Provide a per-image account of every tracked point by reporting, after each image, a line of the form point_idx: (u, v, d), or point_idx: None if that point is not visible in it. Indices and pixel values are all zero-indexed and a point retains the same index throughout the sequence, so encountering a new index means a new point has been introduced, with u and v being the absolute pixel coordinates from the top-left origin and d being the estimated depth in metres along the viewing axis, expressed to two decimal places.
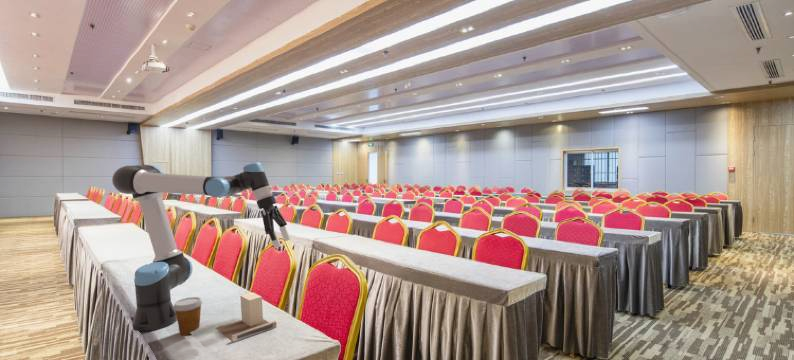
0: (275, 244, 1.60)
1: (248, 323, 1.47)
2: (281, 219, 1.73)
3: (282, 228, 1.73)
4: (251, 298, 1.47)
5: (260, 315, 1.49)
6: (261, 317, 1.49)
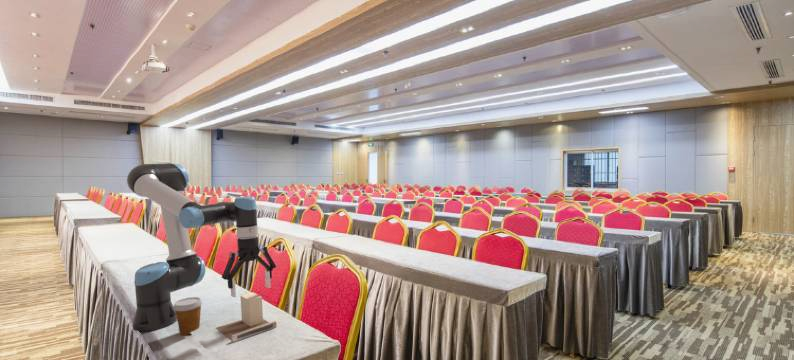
0: (231, 292, 1.45)
1: (248, 323, 1.47)
2: (266, 263, 1.53)
3: (266, 272, 1.54)
4: (251, 298, 1.47)
5: (260, 315, 1.49)
6: (261, 317, 1.49)
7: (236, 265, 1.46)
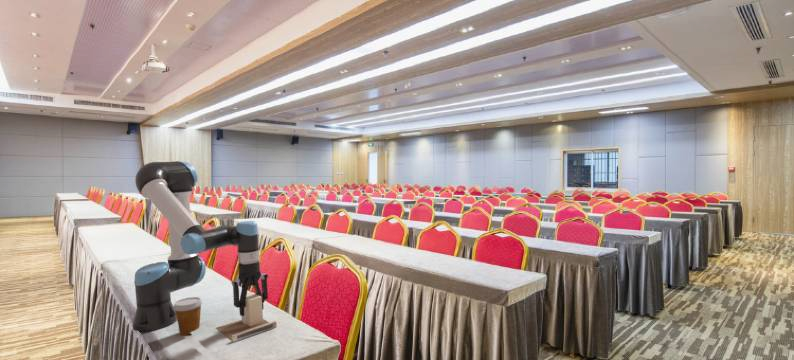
0: (243, 319, 1.49)
1: (248, 323, 1.47)
2: (260, 293, 1.52)
3: None
4: (251, 299, 1.47)
5: (260, 315, 1.49)
6: (261, 317, 1.49)
7: (242, 292, 1.48)
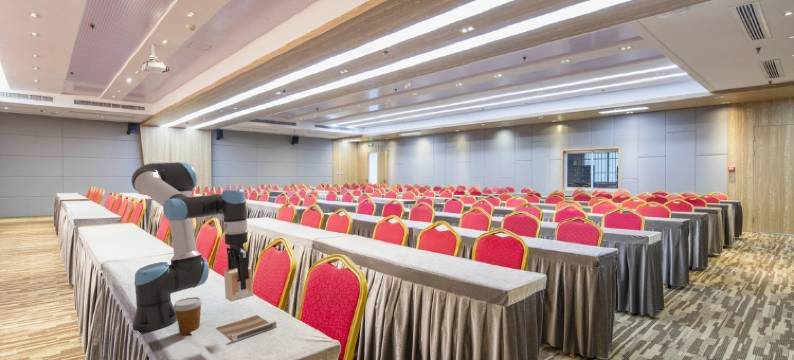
0: None
1: None
2: (238, 270, 1.36)
3: None
4: (227, 271, 1.38)
5: (229, 292, 1.36)
6: (230, 295, 1.36)
7: None
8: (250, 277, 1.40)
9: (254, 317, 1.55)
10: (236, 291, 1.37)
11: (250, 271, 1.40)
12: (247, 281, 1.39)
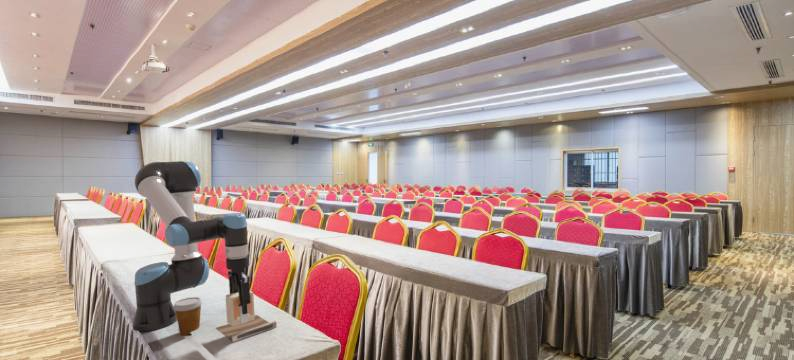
0: None
1: None
2: (240, 295, 1.37)
3: None
4: (229, 295, 1.39)
5: (231, 317, 1.36)
6: (231, 320, 1.36)
7: None
8: (251, 301, 1.41)
9: None
10: (237, 316, 1.37)
11: (251, 295, 1.41)
12: (248, 305, 1.40)
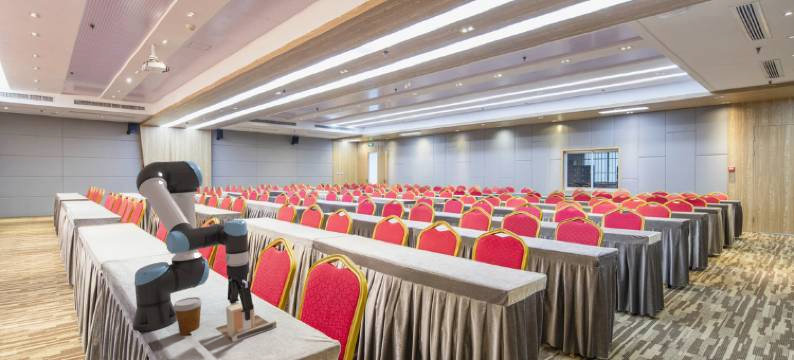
0: None
1: None
2: (242, 301, 1.36)
3: None
4: (229, 307, 1.39)
5: (231, 329, 1.37)
6: (232, 332, 1.37)
7: None
8: (252, 313, 1.41)
9: None
10: (238, 328, 1.37)
11: None
12: None
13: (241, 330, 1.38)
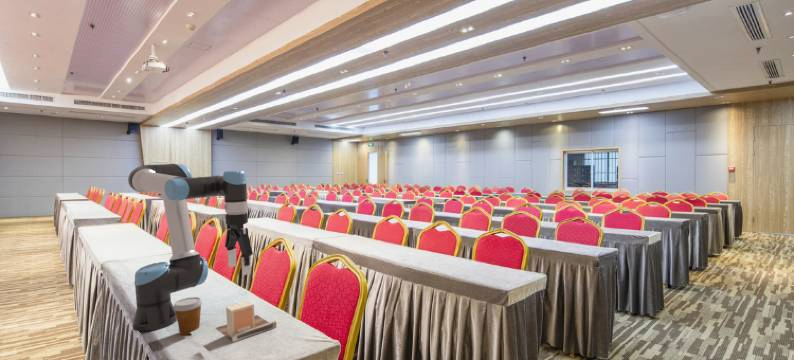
0: None
1: None
2: (241, 247, 1.37)
3: None
4: (229, 307, 1.39)
5: (231, 329, 1.37)
6: (232, 332, 1.37)
7: None
8: (252, 313, 1.41)
9: None
10: (238, 328, 1.37)
11: (252, 307, 1.41)
12: (249, 317, 1.40)
13: (241, 330, 1.38)
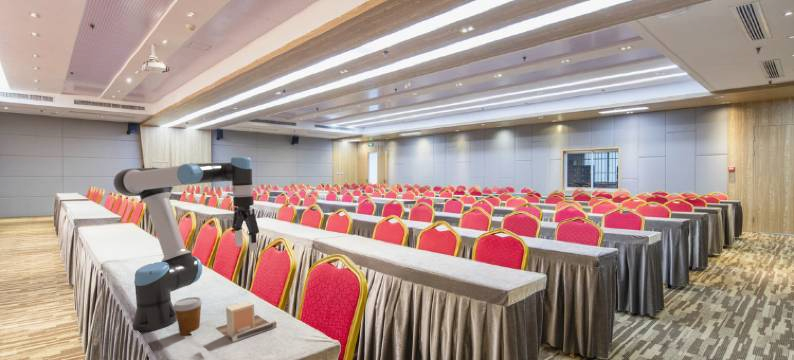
0: None
1: None
2: (248, 226, 1.50)
3: None
4: (229, 307, 1.39)
5: (231, 329, 1.37)
6: (232, 332, 1.37)
7: None
8: (252, 313, 1.41)
9: None
10: (238, 328, 1.37)
11: (252, 307, 1.41)
12: (249, 317, 1.40)
13: (241, 330, 1.38)
